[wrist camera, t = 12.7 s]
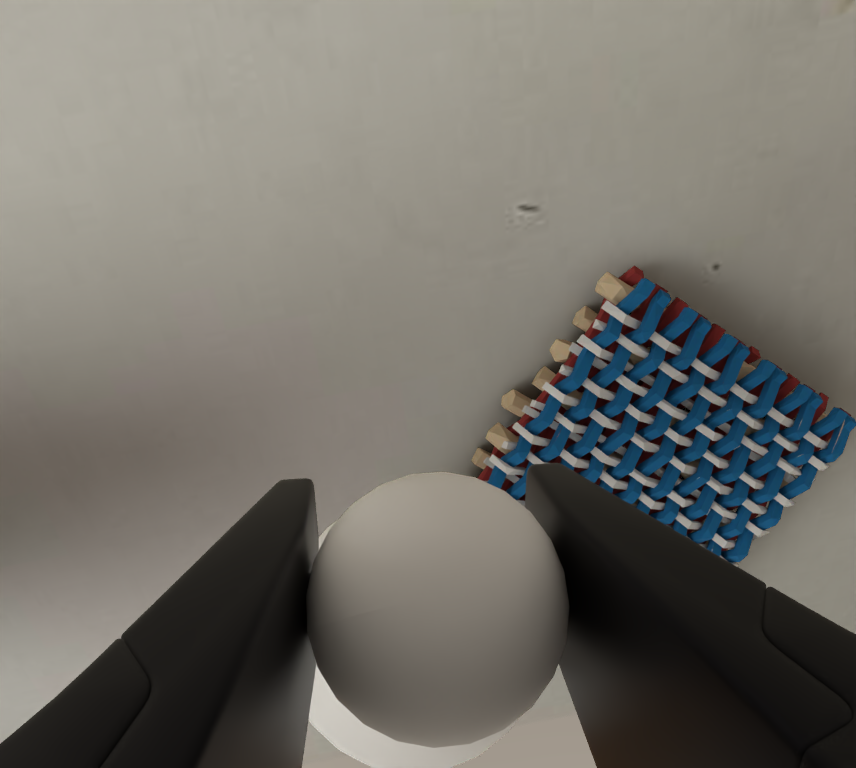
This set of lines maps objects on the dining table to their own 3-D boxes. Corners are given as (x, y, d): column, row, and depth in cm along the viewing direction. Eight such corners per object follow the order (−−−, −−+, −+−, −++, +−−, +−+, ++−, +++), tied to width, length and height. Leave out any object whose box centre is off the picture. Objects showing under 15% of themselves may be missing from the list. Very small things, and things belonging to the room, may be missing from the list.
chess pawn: (498, 486, 16) (621, 301, 8) (561, 727, 14) (805, 828, 6) (273, 534, 15) (140, 390, 7) (312, 792, 14) (198, 1006, 5)
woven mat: (415, 512, 24) (420, 549, 22) (607, 247, 21) (632, 264, 19) (645, 623, 27) (667, 663, 26) (843, 406, 24) (884, 434, 22)
